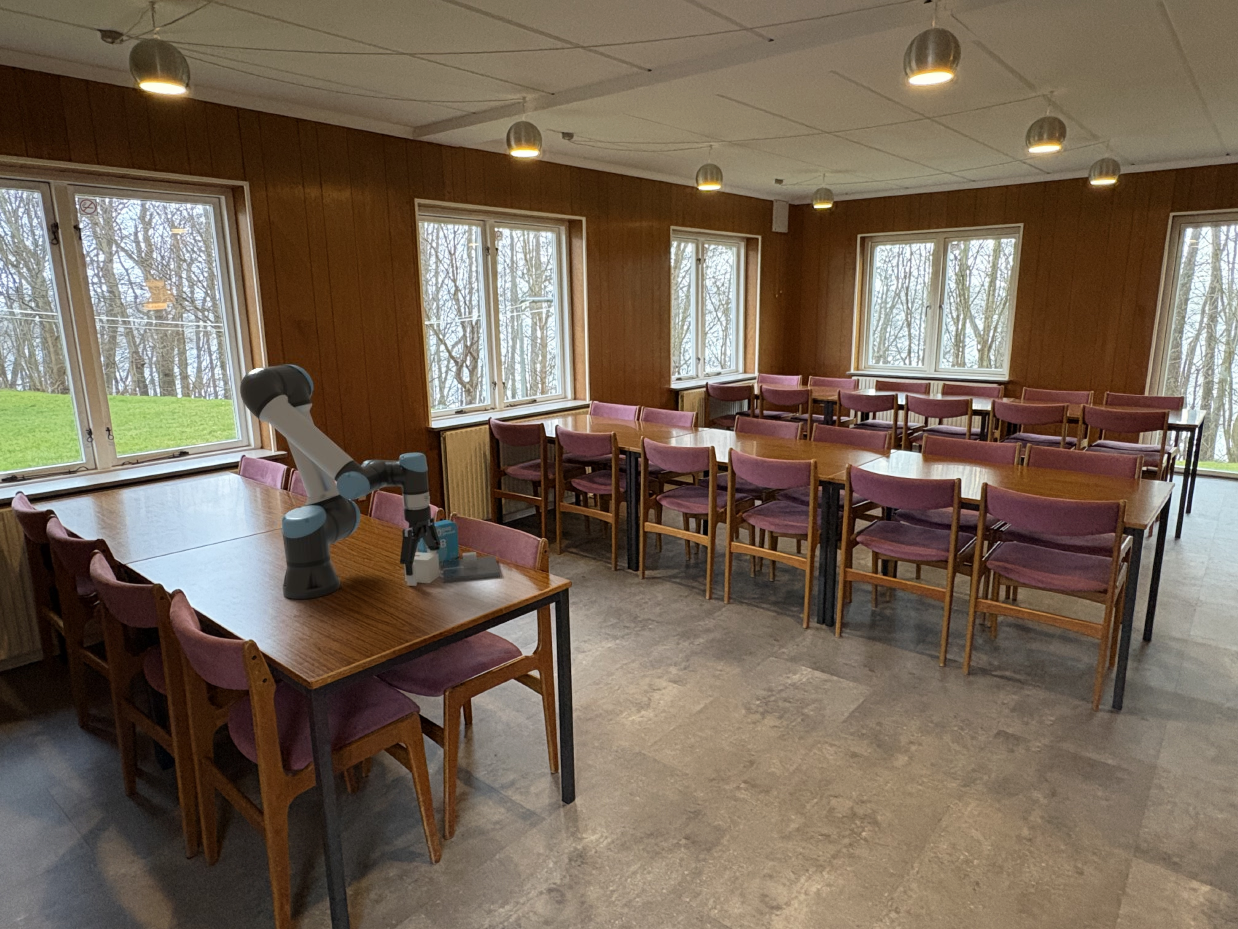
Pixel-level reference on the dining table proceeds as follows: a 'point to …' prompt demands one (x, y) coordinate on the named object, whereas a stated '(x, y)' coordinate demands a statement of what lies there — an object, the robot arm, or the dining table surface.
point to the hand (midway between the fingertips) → (423, 578)
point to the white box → (425, 567)
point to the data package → (444, 541)
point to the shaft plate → (470, 568)
